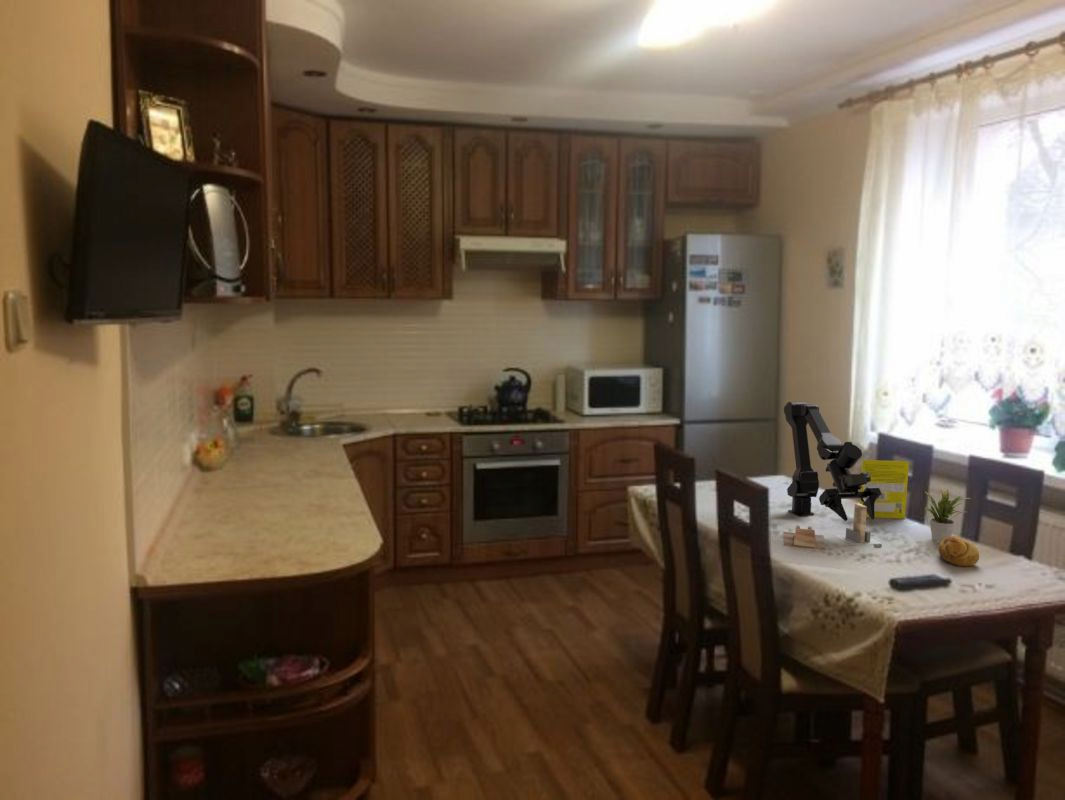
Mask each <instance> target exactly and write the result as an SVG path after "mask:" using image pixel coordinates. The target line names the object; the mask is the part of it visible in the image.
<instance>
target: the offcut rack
mask: <svg viewBox="0 0 1065 800" xmlns="http://www.w3.org/2000/svg"><path fill="white" fill-rule="evenodd" d="M795 527H796V528H799V529H801V526H800V525H796V526H795ZM796 528H795V529H796ZM807 529H811V530H813V528H812V526H807ZM782 532H783V534H782V535H783V546H784V547H791V548H792V547H795V548H805V549H817V550H824V551H825V550H827V548H826V543H825V538H824V535H822V534H815V539H816V542H815V547H810V546H799V545H794V534H795V533H796V532H790V531H782Z"/></svg>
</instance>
